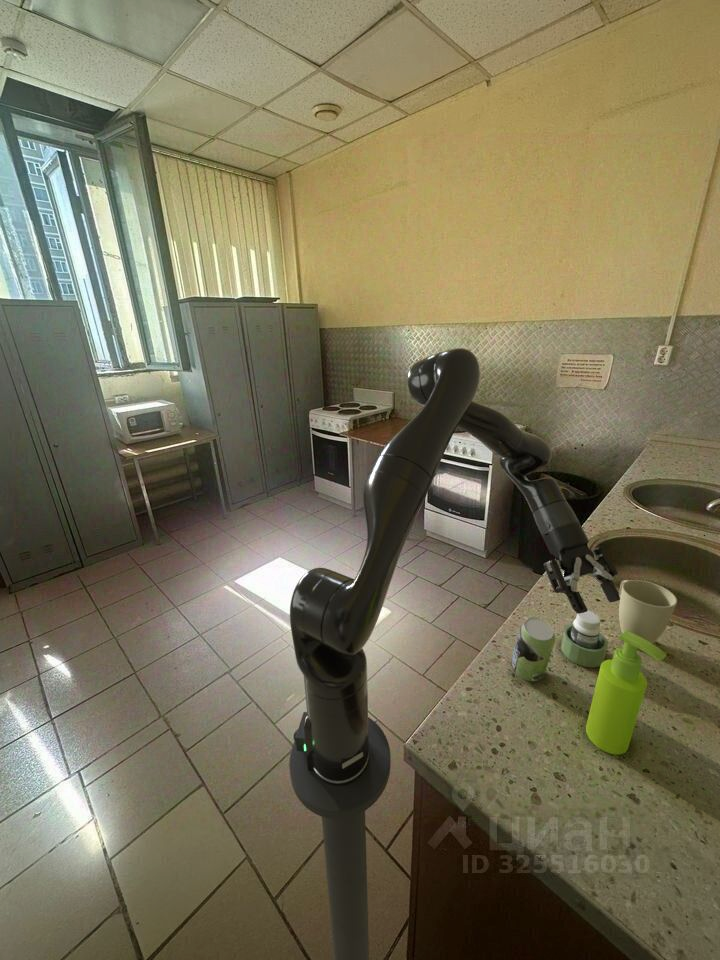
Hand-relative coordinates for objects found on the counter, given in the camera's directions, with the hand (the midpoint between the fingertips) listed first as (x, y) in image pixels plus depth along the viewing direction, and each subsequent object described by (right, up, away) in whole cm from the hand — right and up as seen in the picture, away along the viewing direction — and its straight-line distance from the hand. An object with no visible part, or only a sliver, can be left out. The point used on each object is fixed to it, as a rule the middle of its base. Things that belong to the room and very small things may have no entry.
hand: (599, 606), depth 74 cm
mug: (+13, -10, +9) cm, 18 cm away
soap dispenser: (-5, -18, -12) cm, 22 cm away
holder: (0, -11, +5) cm, 12 cm away
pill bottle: (0, -11, +6) cm, 12 cm away
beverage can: (-13, -13, +1) cm, 19 cm away
